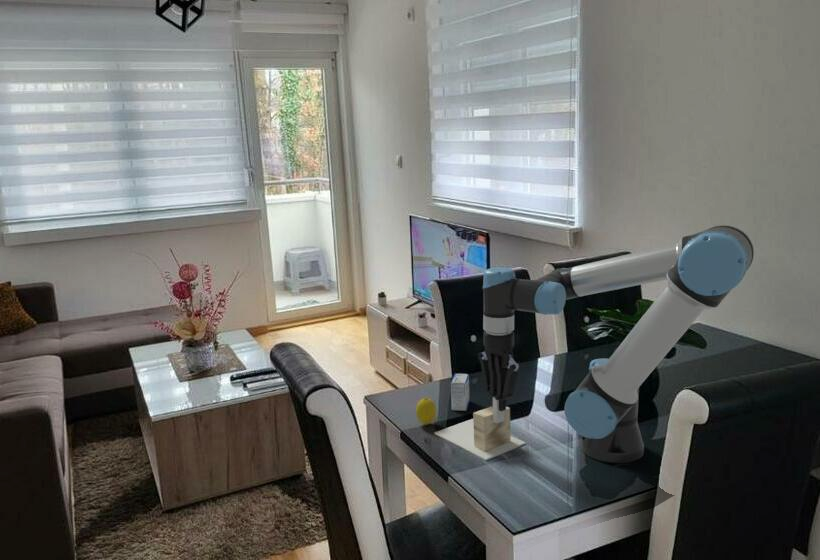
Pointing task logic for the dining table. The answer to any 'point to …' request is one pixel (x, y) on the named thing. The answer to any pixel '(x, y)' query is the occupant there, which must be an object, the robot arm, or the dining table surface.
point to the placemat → (465, 439)
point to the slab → (490, 429)
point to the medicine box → (460, 392)
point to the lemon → (426, 411)
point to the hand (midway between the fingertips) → (498, 421)
